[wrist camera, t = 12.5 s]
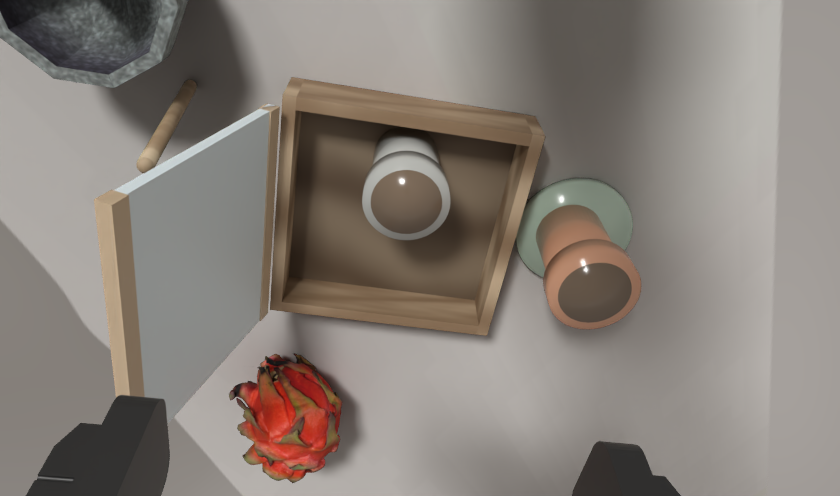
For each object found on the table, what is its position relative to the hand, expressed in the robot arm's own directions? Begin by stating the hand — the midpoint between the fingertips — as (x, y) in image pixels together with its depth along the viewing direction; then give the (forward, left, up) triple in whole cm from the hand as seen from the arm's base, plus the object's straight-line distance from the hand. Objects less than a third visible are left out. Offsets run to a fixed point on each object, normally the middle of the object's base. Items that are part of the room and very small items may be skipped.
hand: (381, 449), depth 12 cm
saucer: (+12, +15, -32) cm, 37 cm away
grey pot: (+8, +2, -32) cm, 33 cm away
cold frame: (+12, -1, -32) cm, 34 cm away
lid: (+12, -8, -21) cm, 25 cm away
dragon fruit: (+30, -4, -32) cm, 44 cm away
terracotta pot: (+12, +14, -31) cm, 36 cm away
